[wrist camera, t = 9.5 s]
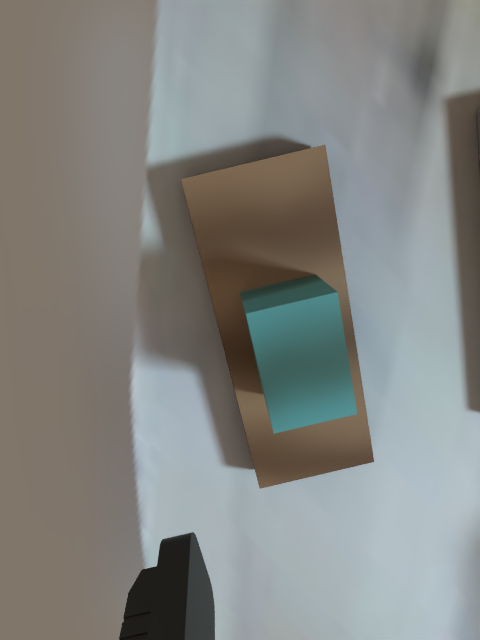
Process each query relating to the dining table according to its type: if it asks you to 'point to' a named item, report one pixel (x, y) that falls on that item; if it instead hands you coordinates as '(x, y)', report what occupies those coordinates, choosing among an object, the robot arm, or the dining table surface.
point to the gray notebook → (479, 122)
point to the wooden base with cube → (283, 312)
